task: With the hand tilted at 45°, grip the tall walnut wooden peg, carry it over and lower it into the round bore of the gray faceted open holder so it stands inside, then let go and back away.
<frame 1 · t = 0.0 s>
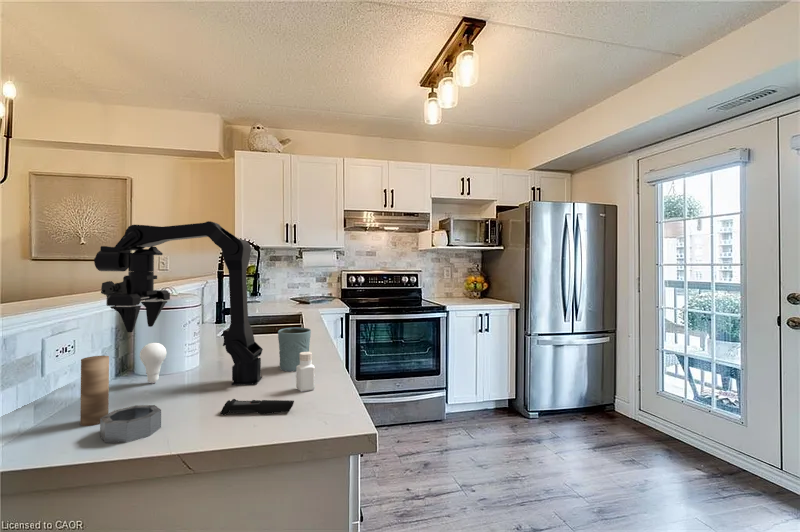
hand: (140, 329, 103), 15 cm above the worktop, tool pointing down, fingers open, 9 cm apart
gray faceted open holder: (131, 431, 73), on the worktop
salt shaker: (305, 390, 99), on the worktop
teal plant pot: (294, 368, 120), on the worktop
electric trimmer: (257, 414, 84), on the worktop
lightbulb: (153, 383, 103), on the worktop
wooden peg: (94, 421, 78), on the worktop
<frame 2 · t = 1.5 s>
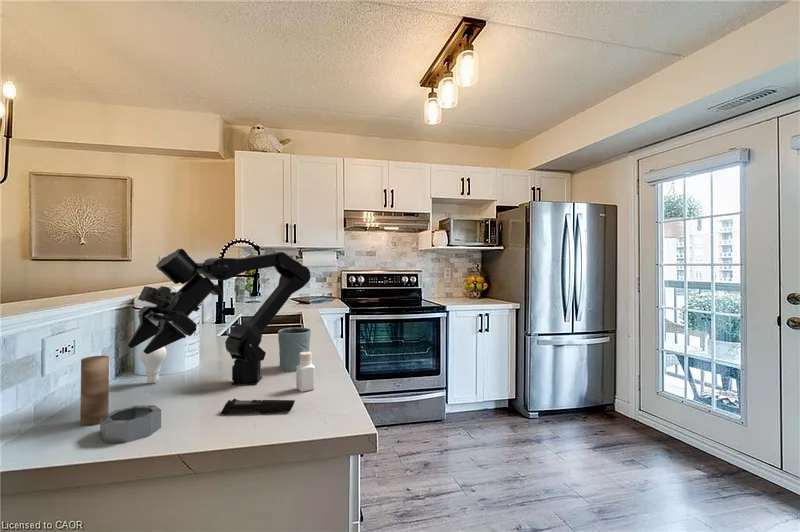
hand: (137, 349, 84), 13 cm above the worktop, tool tilted 45°, fingers open, 9 cm apart
nothing on the worktop moved.
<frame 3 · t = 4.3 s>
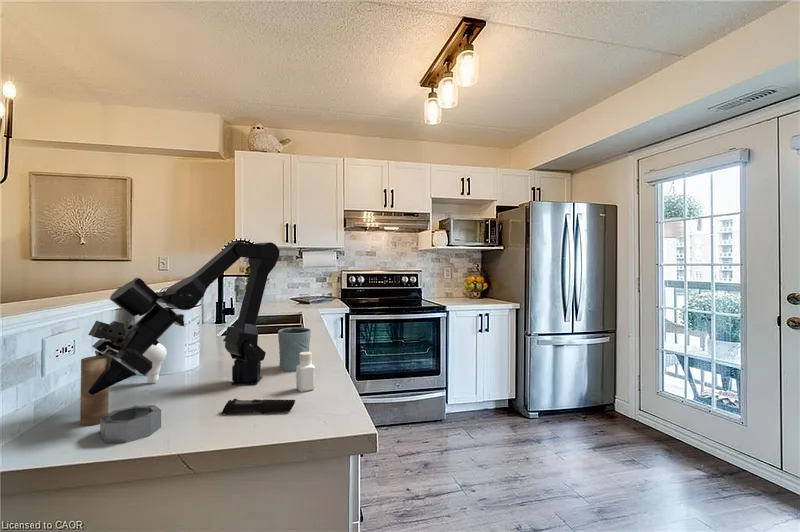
hand: (86, 391, 77), 7 cm above the worktop, tool tilted 45°, fingers closed on wooden peg, 4 cm apart
wooden peg: (94, 421, 78), on the worktop, touching gripper
everything else where it was.
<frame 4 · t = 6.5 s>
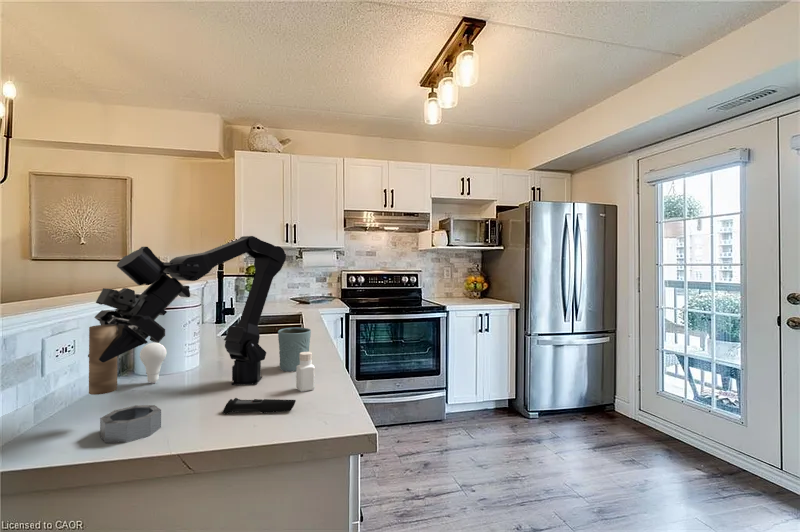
hand: (95, 359, 75), 13 cm above the worktop, tool tilted 45°, fingers closed on wooden peg, 4 cm apart
wooden peg: (103, 390, 76), point 7 cm above the worktop, touching gripper
everything else where it was.
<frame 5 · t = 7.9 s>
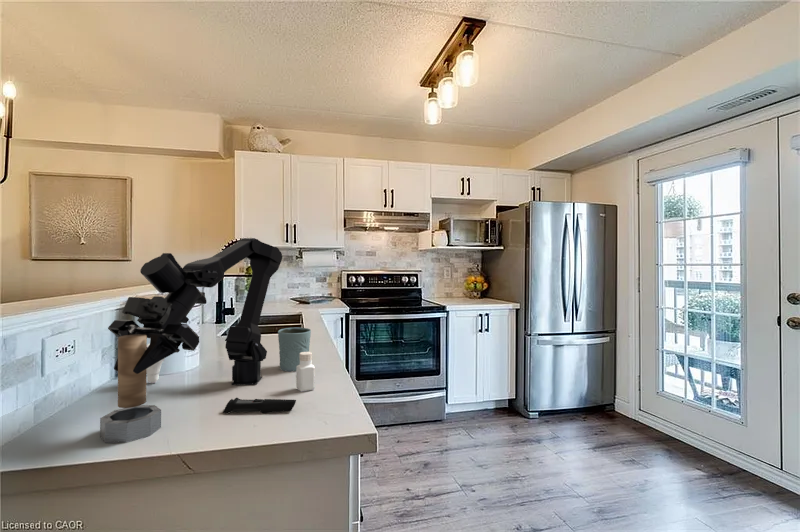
hand: (125, 371, 72), 12 cm above the worktop, tool tilted 45°, fingers closed on wooden peg, 4 cm apart
wooden peg: (132, 403, 73), point 5 cm above the worktop, touching gripper
everything else where it was.
when the fingers open (7 cm above the worktop, at t = 9.2 s): wooden peg stays where it is, resting in gray faceted open holder.
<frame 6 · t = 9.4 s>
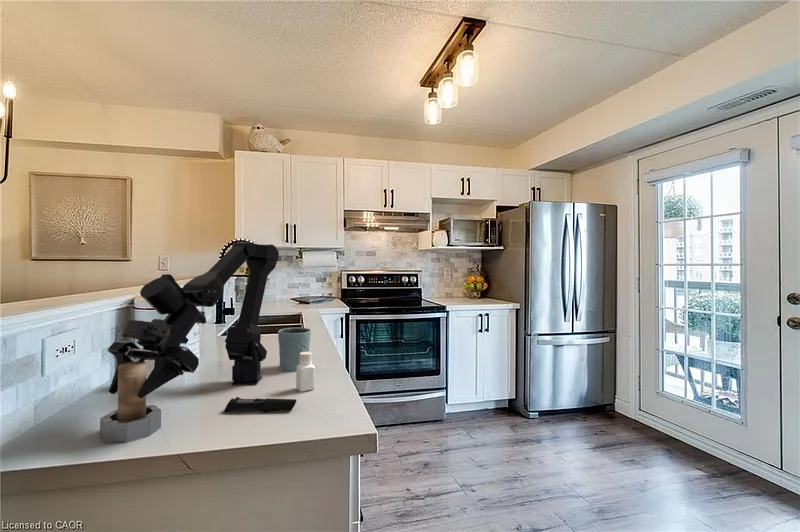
hand: (124, 395, 72), 8 cm above the worktop, tool tilted 45°, fingers open, 7 cm apart
wooden peg: (131, 431, 73), resting in gray faceted open holder
everything else where it was.
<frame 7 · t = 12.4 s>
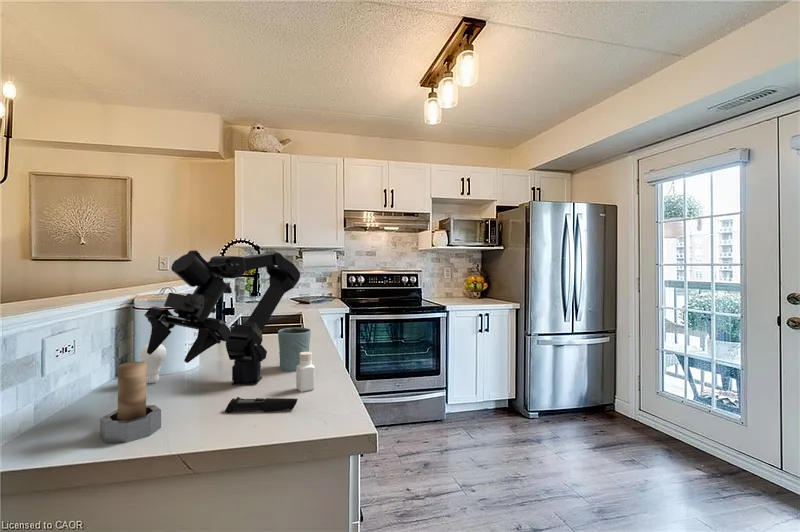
hand: (166, 357, 82), 12 cm above the worktop, tool tilted 40°, fingers open, 9 cm apart
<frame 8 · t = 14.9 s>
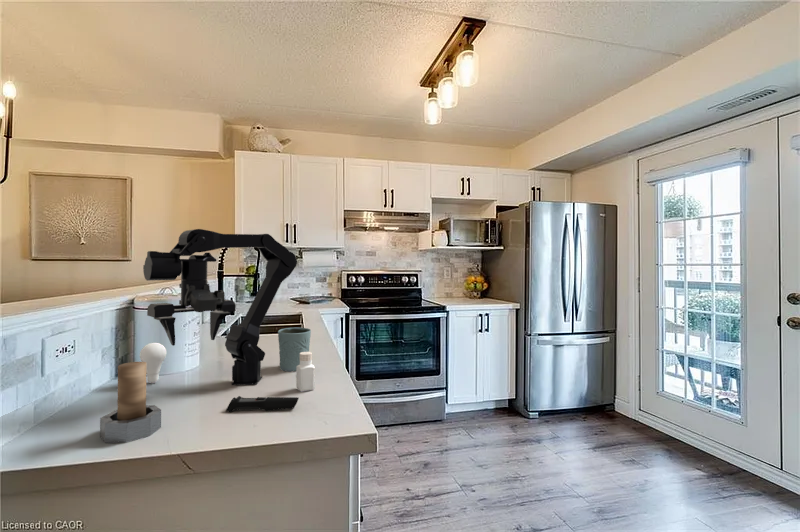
hand: (193, 342, 94), 13 cm above the worktop, tool pointing down, fingers open, 9 cm apart
at the end: wooden peg 0.1 cm off-centre on the gray faceted open holder, point 0.0 cm above the gray faceted open holder's base; wooden peg tilted 0°; the gripper is holding nothing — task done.
